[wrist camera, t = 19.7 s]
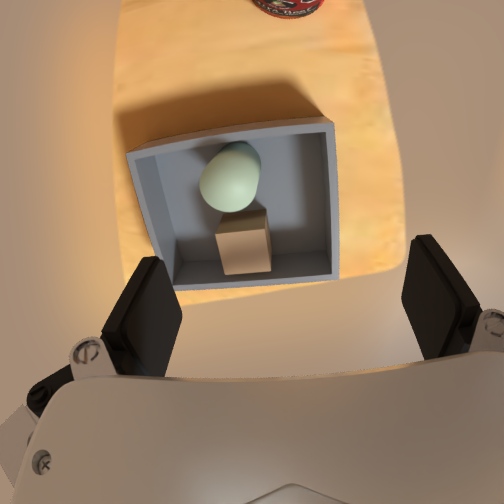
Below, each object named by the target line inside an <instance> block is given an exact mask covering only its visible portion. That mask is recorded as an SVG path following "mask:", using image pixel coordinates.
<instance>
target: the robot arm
mask: <svg viewBox="0 0 504 504" xmlns="http://www.w3.org/2000/svg"><path fill="white" fill-rule="evenodd" d="M401 299H402V304H403V307H404V309H405V311H406V314H407V316H408V319H409V321H410V324H411V326H412V329H413V331H414V334H415V336H416V339H417V341H418V344H419V346H420V349H421V352H422V355H423V357H424V361H418V362H412V363H406V364H400V365H394V366H387V367H381V368H373V369H366V370H358V371H349V372H340V373H331V374H319V375H307V376H291V377H272V378H232V379H229V378H226V379H225V378H224V379H223V378H222V379H218V378H217V379H216V378H214V379H213V378H177V377H165V373H166V370H167V366H168V363H169V360H170V357H171V353H172V350H173V347H174V344H175V340H176V337H177V334H178V331H179V327H180V324H181V321H182V311H181V308H180V305H179V302H178V300H177V297H176V294H175V291H174V289H173V286H172V283H171V280H170V277H169V274H168V271H167V268H166V265H165V263H164V261H163V260H162V259H160V258H159V257H158V256H150V257H143V258H142V259H141V261H140V263H139V264H138V266H137V268H136V270H135V271H134V273H133V275H132V276H131V278H130V280H129V282H128V283H127V285H126V287H125V289H124V290H123V292H122V294H121V296H120V297H119V299H118V301H117V303H116V305H115V306H114V308H113V310H112V312H111V314H110V316H109V318H108V319H107V321H106V323H105V325H104V327H103V329H102V331H101V332H102V335H101V337H100V338H98V337H87V338H85V339H82V340H81V341H79V342H78V343H77V344H76V345H75V346H74V347H73V348H72V350H71V352H70V355H69V361H70V364H69V365H67V366H65V367H64V368H62V369H60V370H59V371H57V372H55V373H54V374H52V375H50V376H49V377H47V378H45V379H43V380H42V381H40V382H38V383H37V384H35V385H34V386H33V387H32V388H31V390H30V391H29V393H28V395H27V405H26V406H24V405H23V404H22V405H21V406H20V407H19V408H18V409H17V410H16V411H15V412H14V413H13V414H12V415H11V416H10V417H9V418H8V419H7V420H6V421H5V422H4V423H3V424H2V425H1V426H0V464H1V466H2V468H3V470H4V472H5V473H6V475H7V477H8V479H9V480H10V482H11V484H12V485H13V487H14V491H13V495H12V499H11V503H10V504H504V312H502V311H500V310H496V309H487V310H484V311H482V309H481V307H480V303H479V302H478V300H477V298H476V297H475V295H474V294H473V292H472V291H471V289H470V288H469V286H468V285H467V283H466V282H465V280H464V279H463V277H462V276H461V274H460V273H459V272H458V270H457V269H456V267H455V266H454V264H453V263H452V262H451V260H450V259H449V257H448V256H447V255H446V253H445V252H444V251H443V249H442V248H441V247H440V245H439V244H438V243H437V242H436V240H435V239H434V238H433V237H432V235H431V234H426V235H417V236H416V238H415V239H413V240H412V241H411V246H410V252H409V258H408V264H407V269H406V275H405V280H404V285H403V291H402V296H401Z"/></svg>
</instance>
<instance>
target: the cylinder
mask: <svg viewBox="0 0 504 504" xmlns="http://www.w3.org/2000/svg"><path fill="white" fill-rule="evenodd" d="M260 172H261V159H260V156H259V154H258V153H257V151H256V150H255V149H254V148H253V147H251V146H250V145H248V144H245V143H241V142H234V143H230V144H228V145H226V146H224V147H223V148H222V149H221V150H220V151H219V152H218V153H217V154H216V155H215V157H214V158H213V159H212V160H211V161H210V162H209V164H208V165H207V166H206V167H205V168H204V170H203V171H202V174H201V176H200V181H199V186H200V191H201V194H202V196H203V198H204V199H205V201H206V202H207V203H208V204H209V205H210V206H212V207H213V208H215V209H217V210H220V211H223V212H235V211H239V210H241V209H243V208H245V207H246V206H248V205H249V204H250V203H251V202H252V200H253V198H254V197H255V194H256V190H257V185H258V181H259V176H260Z"/></svg>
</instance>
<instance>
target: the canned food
mask: <svg viewBox="0 0 504 504" xmlns="http://www.w3.org/2000/svg"><path fill="white" fill-rule="evenodd" d="M253 1H254V3H255V4H256V6H258V7H259V8H260V9H261V10H262V11H264V12H265V13H267V14H269V15H271V16H274V17H277V18H282V19H296V18H301V17H305V16H307V15H309V14H311V13H313V12H314V11H316V10H317V9H318V8H319V7H320V6H321V5H322V3H323V2H324V0H253Z"/></svg>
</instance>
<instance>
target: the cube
mask: <svg viewBox="0 0 504 504" xmlns="http://www.w3.org/2000/svg"><path fill="white" fill-rule="evenodd" d="M215 236H216V240H217V244H218V248H219V252H220V257H221V261H222V265H223V269H224V273H225V275H231V274H243V273H255V272H267V271H271V260H272V243H271V236H270V229H269V223H268V216H267V209H262V210H252V211H244V212H235V213H227V214H223V215H222V218H221V221H220V223H219V226H218V228H217V231H216V233H215Z"/></svg>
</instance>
